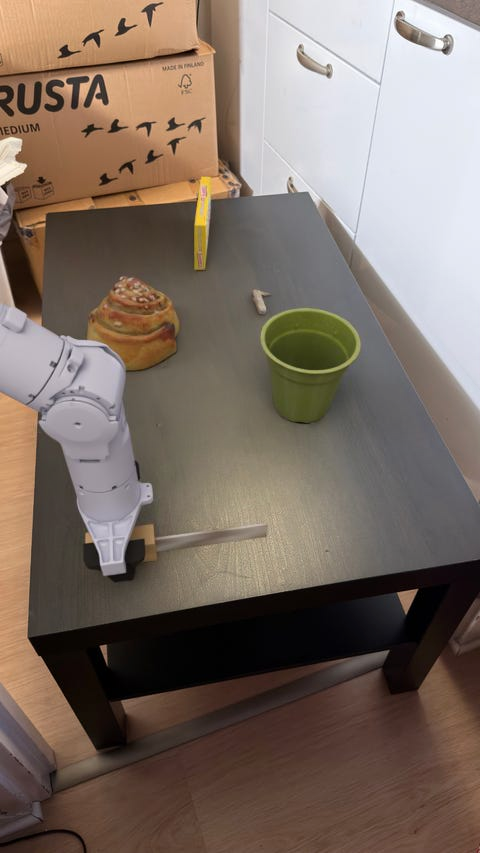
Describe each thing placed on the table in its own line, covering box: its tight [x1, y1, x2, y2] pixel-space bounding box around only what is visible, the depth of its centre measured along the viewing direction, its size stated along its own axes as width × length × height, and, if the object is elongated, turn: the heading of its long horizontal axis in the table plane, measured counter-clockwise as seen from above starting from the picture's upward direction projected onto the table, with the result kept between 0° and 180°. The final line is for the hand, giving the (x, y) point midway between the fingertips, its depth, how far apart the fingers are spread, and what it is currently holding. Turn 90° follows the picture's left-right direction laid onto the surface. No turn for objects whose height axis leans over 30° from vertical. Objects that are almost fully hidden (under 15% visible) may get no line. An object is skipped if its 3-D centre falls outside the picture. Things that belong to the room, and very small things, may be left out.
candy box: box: [193, 176, 212, 271], centre depth 104 cm, size 16×2×8 cm, turn 179°
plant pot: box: [259, 307, 362, 424], centre depth 78 cm, size 12×12×11 cm
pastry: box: [86, 276, 181, 372], centre depth 88 cm, size 13×15×8 cm
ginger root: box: [251, 289, 271, 315], centre depth 96 cm, size 6×1×3 cm
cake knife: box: [84, 522, 268, 563], centre depth 66 cm, size 19×2×3 cm, turn 99°
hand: (122, 547), depth 65 cm, fingers open, 7 cm apart
